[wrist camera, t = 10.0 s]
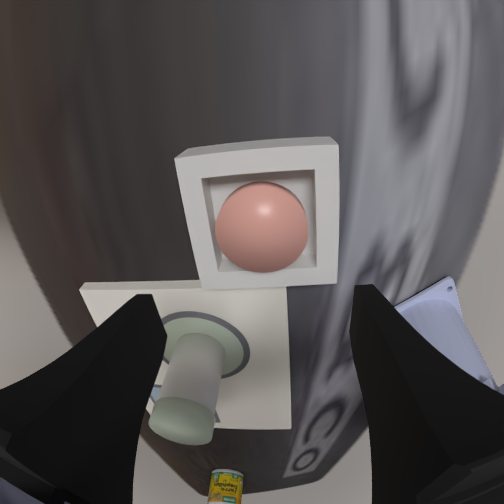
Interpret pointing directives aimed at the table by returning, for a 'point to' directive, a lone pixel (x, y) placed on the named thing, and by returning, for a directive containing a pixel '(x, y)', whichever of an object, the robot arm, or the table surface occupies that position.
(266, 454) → the table surface
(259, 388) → the picture board
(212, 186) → the button box
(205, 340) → the marker
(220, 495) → the supplement bottle
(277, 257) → the button
